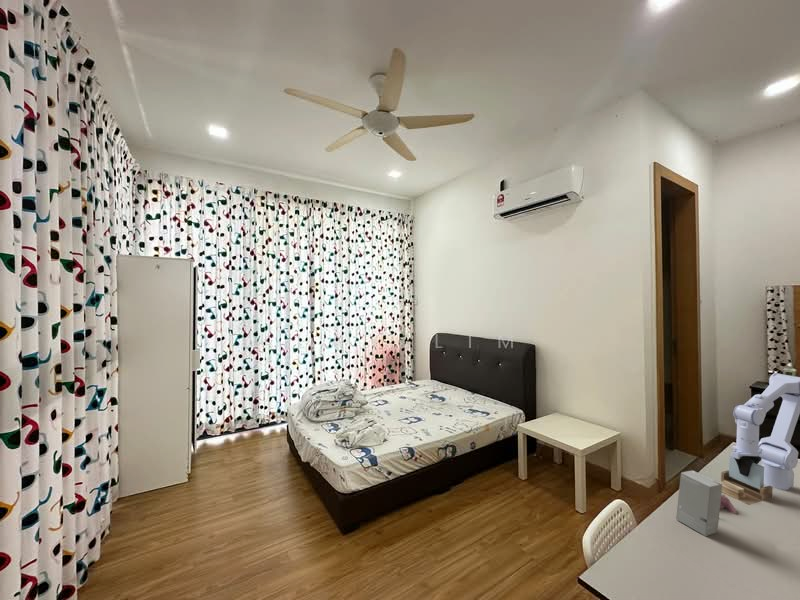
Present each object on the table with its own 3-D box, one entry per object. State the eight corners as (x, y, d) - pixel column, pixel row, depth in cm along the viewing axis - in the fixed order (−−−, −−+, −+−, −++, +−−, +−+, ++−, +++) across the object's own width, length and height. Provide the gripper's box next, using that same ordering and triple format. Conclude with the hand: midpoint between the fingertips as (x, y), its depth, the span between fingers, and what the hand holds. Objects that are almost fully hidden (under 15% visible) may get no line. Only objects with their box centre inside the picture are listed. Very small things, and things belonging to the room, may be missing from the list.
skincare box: (675, 520, 108) (677, 472, 107) (689, 515, 110) (691, 468, 110) (707, 538, 100) (709, 486, 99) (721, 532, 102) (723, 482, 102)
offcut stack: (724, 487, 125) (724, 480, 124) (745, 497, 119) (745, 489, 119) (717, 489, 123) (717, 481, 123) (738, 499, 118) (738, 491, 118)
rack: (730, 482, 130) (730, 469, 130) (772, 501, 119) (772, 486, 119) (707, 488, 126) (707, 475, 126) (748, 508, 115) (748, 493, 115)
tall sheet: (732, 475, 128) (732, 455, 128) (763, 488, 120) (764, 466, 120) (728, 476, 128) (729, 455, 128) (760, 489, 119) (760, 467, 119)
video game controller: (729, 515, 113) (721, 492, 116) (740, 517, 109) (732, 493, 112) (698, 513, 114) (691, 489, 117) (708, 515, 110) (701, 491, 113)
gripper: (745, 432, 129) (744, 466, 130) (721, 436, 125) (720, 471, 125) (770, 439, 123) (769, 475, 123) (746, 444, 118) (744, 482, 118)
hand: (746, 474), depth 124 cm, fingers closed on tall sheet, 2 cm apart
